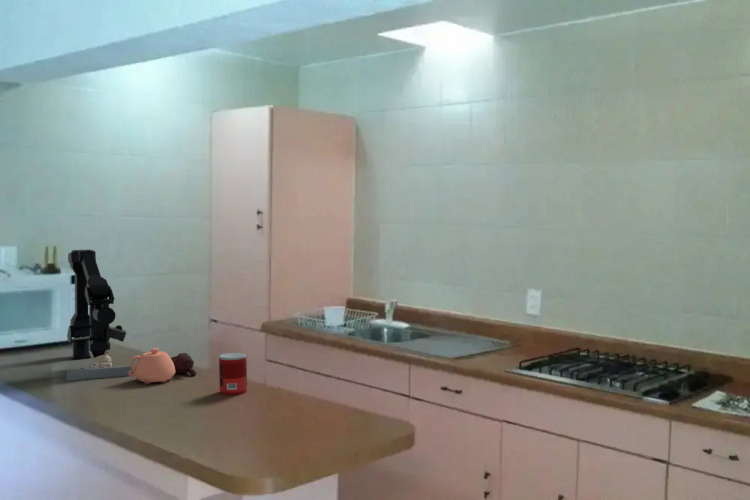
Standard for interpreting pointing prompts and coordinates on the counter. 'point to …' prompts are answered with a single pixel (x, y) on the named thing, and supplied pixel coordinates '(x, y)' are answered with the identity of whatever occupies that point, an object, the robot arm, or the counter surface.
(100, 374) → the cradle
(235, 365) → the canned food
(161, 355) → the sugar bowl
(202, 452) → the counter surface
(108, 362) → the garlic bulb
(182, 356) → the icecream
